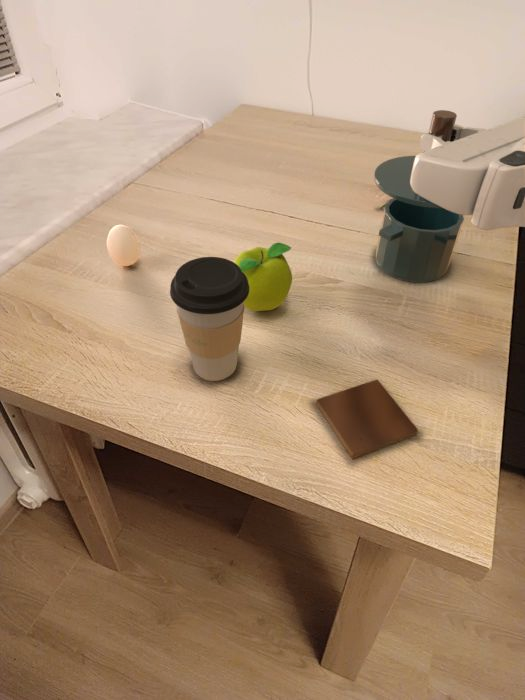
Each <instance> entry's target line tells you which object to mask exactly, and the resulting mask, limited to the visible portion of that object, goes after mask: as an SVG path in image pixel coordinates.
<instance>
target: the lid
mask: <svg viewBox="0 0 525 700" xmlns="http://www.w3.org/2000/svg"><path fill="white" fill-rule="evenodd" d="M456 120H457V113H456V112H453V111H451V110H445V109H440V110H434V111H433V112H432V117H431V119H430V124H429V125H430V126H429V129H428V133H429V132H435V133H438V134H441V135H443V136H442V140H443V141H444V142H447V141H450V140H451V136H452V132H453V128H454V124H456ZM415 157H416V155H406V156H397V157H393V158H390V159H387V160H385V161H383V162H381V163H380V164H379V165H378V166H377V167H376V168H375V170H374V173H373V181H374V183H375V186H376V187H377V188H378V189H379V190H380V191H381V192H382V193H384V194H385V195H386V196H389V197H391V199H393V198H395V199H397V200H399V201H402V202H405V203H409V204H412V205H417V206H422V207H430V208H442V207H440V206H438V205H436V204H434V203H432V202H430V201H429V200H427V199H425V198H423V197H421V196H420V195H418V194H417V193H415V192H414V191H413V190H412V187H411V185H410V178H411V173H412V168H413V164H414V160H415Z"/></svg>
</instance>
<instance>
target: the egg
mask: <svg viewBox="0 0 525 700" xmlns="http://www.w3.org/2000/svg"><path fill="white" fill-rule="evenodd" d="M106 249H107V253H108V255H109V257H110V258H111V260H112V261H113V262H114V263H116V264H117V265H119V266H122V267H130V266H132V265H134V264H135V263H136V262H137V260H138V259H139V257H140V255H141V245H140V241H139V238H138V236H137V235H136V233H135V232H134V231H133V230H132V229H131V228H130V227H129V226H127V225H125V224H118V225H117V224H116V225H114V226H113V227H112V228H111V229H110V230H109V232H108V235H107V238H106Z"/></svg>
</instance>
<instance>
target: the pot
mask: <svg viewBox="0 0 525 700" xmlns="http://www.w3.org/2000/svg"><path fill="white" fill-rule="evenodd" d="M385 204H386V205H385ZM385 204H384V205H385V207H383V214H382V218H381V223H380V229H379V231H378V239H377V243H376V248H375V262H376V265H377V266H378V268H380V270H382V272H383V273H385V274H387V275H388V276H390V277H393V278H395V279H398V280H401V281H405V282H410V283H428V282H429V283H430V282H433V281H437V280H439V279H441V278H442V277H444V276H445V274H446V273H447V272H448V269H449V267H450V265H451V261H452V259H453V255H454V252H455V250H456V246H457V242H458V240H459V236H460V233H461V231H462V227H463V225H464V221H465V218H464V215H460V214H457V213H454V212H451V211H449V210H446V209H444V208H430V207H422V206H417V205H412V204H409V203H405V202H402V201H399V200H397V199H395V198H390V199H389V200H388V201H387V202H386V203H385Z"/></svg>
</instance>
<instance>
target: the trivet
mask: <svg viewBox="0 0 525 700" xmlns="http://www.w3.org/2000/svg"><path fill="white" fill-rule="evenodd" d="M315 405H316V407H317V408H318V409H319V411H320V412H321V414H322V415H323V418H324V419H325V420H326V422H327V423H328V425H329V426H330V428H331V430H332V431H333V432H334V434H335V435H336V437H337V438H338V441H340V443H341V445H342V447H343V448H344V450H345V451H346V452H347V454H348V455H349V457H350V459H351V460H355V459H357V458H359V457H362V456H365V455H367V454H370V453H373V452H375V451H378V450H380V449H383V448H386V447H388V446H391V445H394V444H396V443H399V442H402V441H405V440H407V439H409V438H412V437H415V436H417V435H418V431H419V429H418V428H417V427H416V426H415V425H414V423H413V422H412V420H411V419H410V418H409V417H408V416H407V414H406V413H405V412H404V410H403V409H402V407H400V406H399V404H398V403H397V401H396V400H394V398H393V397H392V396H391V394H389V392H388V391H387V390H386V388H385V387H384V385H383V384H382V383H381V382H380V381H379V380H378V379H375V380H371V381H367V382H366V383H363V384H359V385H357V386H353V387H351V388H348V389H344V390H342V391H341V390H340V391H338V392H335V393H332V394H329V395H326V396H323V397H320V398H317V399H316V403H315Z"/></svg>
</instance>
